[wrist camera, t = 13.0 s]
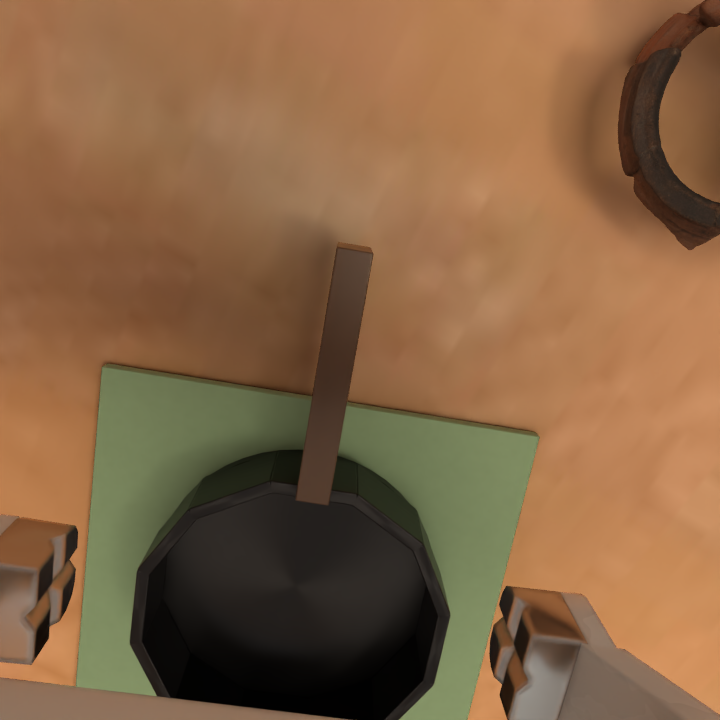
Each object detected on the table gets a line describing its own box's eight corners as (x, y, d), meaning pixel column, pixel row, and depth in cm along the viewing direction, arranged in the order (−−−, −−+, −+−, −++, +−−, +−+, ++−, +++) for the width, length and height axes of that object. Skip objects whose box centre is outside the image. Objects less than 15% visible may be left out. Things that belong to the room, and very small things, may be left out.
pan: (145, 675, 30) (112, 752, 26) (197, 213, 25) (167, 217, 21) (405, 710, 31) (414, 790, 27) (507, 267, 26) (536, 281, 22)
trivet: (79, 691, 31) (73, 701, 30) (106, 362, 27) (101, 366, 26) (457, 741, 32) (459, 751, 31) (536, 431, 28) (540, 436, 27)
